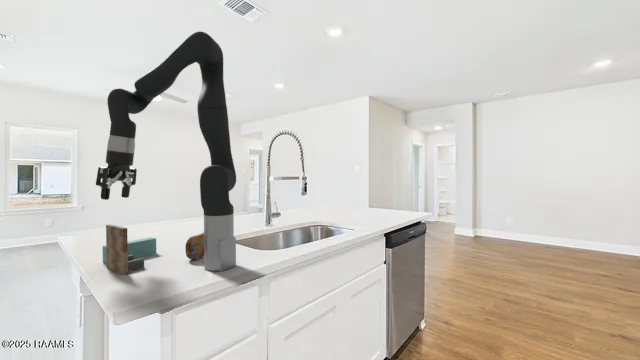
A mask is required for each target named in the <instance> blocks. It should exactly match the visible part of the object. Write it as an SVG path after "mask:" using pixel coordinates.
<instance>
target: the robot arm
mask: <svg viewBox="0 0 640 360" xmlns="http://www.w3.org/2000/svg"><path fill="white" fill-rule="evenodd" d="M195 63H197V64H198V65H199V69H200V76H201V82H202V83H201V90H200V94H199V96H198V100H197V117H198V125H199V129H200V132H201V135H202V136H203V139H204V141H205V143H206V145H207V148H208V152H209V156H210V164H211V165H208V166H206V167H205V168H204V169H203V170H202V171H201V174H200V179H199V192H200V193H199V195H200V204H201V208H202V210H203V233H204V257H203V258H204V259H203V260H204V261H203V262H204V263H203V264H204V270H207V271H212V272H213V271H214V272H215V271H218V272H222V271H225V270H228V269H231V268H234V267H236V266H237V246H236V245H237V238H236V237H235V231H234V230H235V229H234V228H235V227H234V226H235V225H234V222H235V221H234V220H235V219H234V216H235V215H234V210H235V209H234V205H233V204H232V203H231V201H230V191H232V190H233V189H234V188H235V186H236V183H237V173H236V168H235V164H234V159H233V155H232V148H231V136H230V126H229V114H228V107H227V101H226V100H227V99H226V98H227V97H226V92H225V91H226V90H225V83H224V82H225V81H224V53H223V50H222V48H221V46H220V44H219V43H218V42H217V41H216V40H215V39H214V38H213V37H212V36H211V35H210V34H208V33H206V32H204V31H195V32H193V33H191V34H190V35H189V36H188V37H187V38H185V40H183V41H182V43H180V45H178V46H177V47H176V48H175V49H174V50H173V51H172V52H171V53H170V54H169V55H168V56H167V57H166V58H165V59H164V60H163V61H162V62H161V63H159V64H158V65H157V66H155V67H154V68H152V69H151V70H150V71H148V72H146V73H145V74H143V75H142V76H141V77H139V78H137V79H136V81H135V82H134V88H135V89H134V91H133V92H132V91H129V90H127V89H124V88H120V87H118V88H117V87H116V88H113V89H112V90H111V91H110V92H109V93H108V96H107V100H106V101H107V109H108V115H109V120H110V128H109V129H110V130H109V136H108V141H107V147H106V156H105V163H106V164H107V167H106V166H105V167H104V166H103V167H102V166H99V167H98V169H97V174H96V180H95V186H98V187H100V188H101V190H100V199H101V200H105V201H108V200H109V199H110V195H111V187H112V185H113V184H116V182H118V181H119V182H120V183H121V184H122V188H121V195H120V196H121V197H122V198H125V199H127V198H129V196H130V194H131V193H130V191H131V187H132V186H135V185H136V182H137V173H138V172H137V170H138V169H137V168H134V167H131V166H133V165H134V159H135V157H134V156H135V148H136V133H137V124H136V122H134V121H133V120H131V118H130V114H131V115H136V114H139V113H141V112H143V111H144V110H145V109H146V108H148V106H149V105H151V104H150V103H152V102H153V100H154V99H155V98H156V97H158V96H159V95H161V94H163V93H165V92H166V91H167V90H168V89H170V88H171V86H173V85H174V83H175V81H176V79H177V78H178V76H179V75H180V73H182V71H183V70H184V69H185V68H188V67H189V66H190V65H193V64H195Z"/></svg>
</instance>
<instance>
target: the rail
mask: <svg viewBox="0 0 640 360" xmlns="http://www.w3.org/2000/svg"><path fill="white" fill-rule="evenodd" d="M127 242H128V255H134V259H140V258H144V257H146V256H147V257H148V256H150V255H151V256H152V255H156V254H157V238H156V237H145V238H139V239H134V240H133V239H132V240H129V241H128V240H127ZM102 263H103V264H105V265H107V249H106V244H105V245H102Z"/></svg>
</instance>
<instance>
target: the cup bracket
mask: <svg viewBox="0 0 640 360" xmlns="http://www.w3.org/2000/svg"><path fill="white" fill-rule="evenodd" d="M105 233H106V234H105V238H106V243H105V245H106V249H107V264H106V268H107V269H109V270H111V271H114V272H116V273H119V274H121V275H123V276H124V275H128V274H129V272H132V271H137V270H140V269H145V258H144V257H139V258H134V255H128V242H127V241H128V228H127V227H124V226H119V225H116V224H115V225H114V224H110V223H109V224H106V225H105Z"/></svg>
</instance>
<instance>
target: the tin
mask: <svg viewBox="0 0 640 360" xmlns="http://www.w3.org/2000/svg"><path fill="white" fill-rule="evenodd" d="M185 256H186V257H187V258H188V259H189V260H196V261H198V260H200V259H202V258H204V232H201V233H198V234H196V235H193V236H190V237H188V239H187V241H186V242H185Z"/></svg>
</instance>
